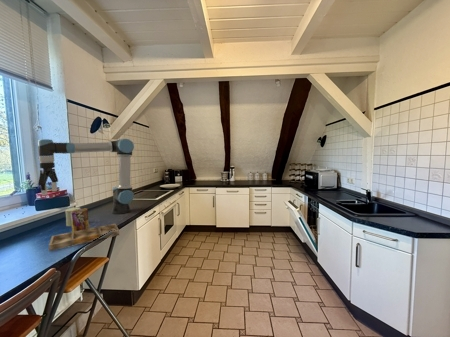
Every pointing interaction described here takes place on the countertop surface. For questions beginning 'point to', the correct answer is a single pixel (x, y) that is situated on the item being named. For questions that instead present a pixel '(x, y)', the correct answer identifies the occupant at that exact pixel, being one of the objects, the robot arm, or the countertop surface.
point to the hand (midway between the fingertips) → (49, 193)
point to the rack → (81, 236)
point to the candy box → (79, 220)
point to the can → (69, 215)
